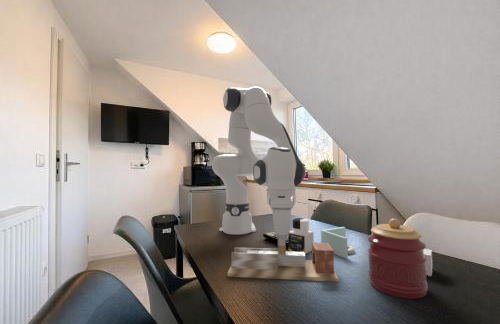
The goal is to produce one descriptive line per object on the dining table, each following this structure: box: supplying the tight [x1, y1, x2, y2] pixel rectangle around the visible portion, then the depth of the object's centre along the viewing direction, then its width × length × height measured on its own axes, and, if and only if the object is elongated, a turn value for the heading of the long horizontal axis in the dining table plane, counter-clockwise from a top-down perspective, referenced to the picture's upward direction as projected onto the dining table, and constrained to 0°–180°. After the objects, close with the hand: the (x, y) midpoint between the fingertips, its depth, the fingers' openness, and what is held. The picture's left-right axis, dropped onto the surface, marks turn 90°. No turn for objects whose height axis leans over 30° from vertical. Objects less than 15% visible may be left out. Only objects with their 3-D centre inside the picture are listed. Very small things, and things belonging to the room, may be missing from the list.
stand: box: [227, 242, 339, 283], centre depth 70 cm, size 31×12×8 cm, turn 83°
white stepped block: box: [246, 237, 307, 267], centre depth 71 cm, size 18×3×9 cm, turn 83°
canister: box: [367, 218, 428, 300], centre depth 60 cm, size 13×13×18 cm
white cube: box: [423, 248, 433, 277], centre depth 69 cm, size 6×6×6 cm
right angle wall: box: [320, 226, 355, 260], centre depth 87 cm, size 12×12×8 cm
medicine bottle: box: [287, 217, 315, 255], centre depth 87 cm, size 7×7×12 cm
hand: (281, 243), depth 70 cm, fingers closed on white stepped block, 2 cm apart
